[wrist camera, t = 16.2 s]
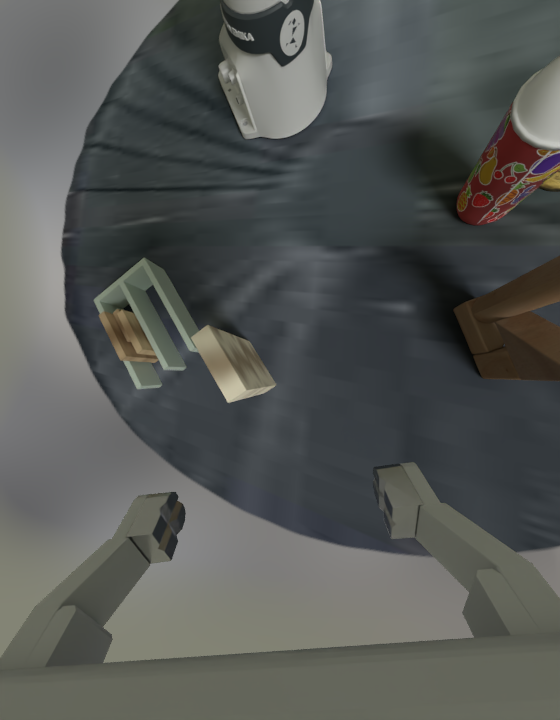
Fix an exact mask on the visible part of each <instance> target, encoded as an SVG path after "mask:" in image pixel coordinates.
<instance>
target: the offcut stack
mask: <svg viewBox="0 0 560 720" xmlns="http://www.w3.org/2000/svg"><path fill="white" fill-rule="evenodd" d="M99 317H100V319H101V322H102V324H103V326H104V328H105V330H106V332H107V334H108V336H109V338H110V340H111V342H112V344H113V346H114V348H115V350H116V352H117V354H118V356H119V358H120V360H121V361H136V362H151V363H155V362H157V361H158V358H157V356H156V354H155V352H154V350H153V348H152V346H151V344H150V342H149V340H148V339H147V337H146V335H145V333H144V331H143V329H142V327H141V325H140V323H139V321H138V319H137V318H136V316H135V314H134V313H132V312H129V311H125V310H120V309H117V310H116V311H114V312H113V314H112V313H108V312H104V311H103V312H102V313H101V314H100V315H99Z"/></svg>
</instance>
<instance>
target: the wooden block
mask: <svg viewBox="0 0 560 720" xmlns="http://www.w3.org/2000/svg"><path fill="white" fill-rule="evenodd" d="M559 301H560V256H558V257H556V258H555V259H553V260H551V261H549V262H547V263H545V264H543V265H541V266H539V267H537V268H536V269H534V270H532V271H530V272H528V273H526V274H524V275H522V276H520V277H519V278H517V279H515V280H513V281H511V282H509V283H507V284H505V285H503V286H502V287H500V288H498V289H496V290H494V291H492V292H490V293H488V294H486V295H483V296H480V297H478V298H475V299H472V300H469V301H466V302H464V303H462V304H461V305H459V306H457V307H455V308H454V313H455V315H456V317H457V320H458V322H459V324H460V327H461V329H462V332H463V334H464V336H465V339H466V341H467V343H468V346H469V348H470V350H471V353H472V354H475V355H474V356H473V358H474V360H475V362H476V365H477V367H478V370H479V372H480V374H481V377H482V378H483V379H513V380H540V381H560V327H559V326H557V325H555V324H553V323H551V322H549V321H548V320H546V319H544V318H542V317H540V316H538V315H536V314H534V313H533V312H530V311H531V310H534V309H537V308H540V307H543V306H546V305H549V304H553V303H556V302H559ZM504 344H505V347H503V345H504Z"/></svg>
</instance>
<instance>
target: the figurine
mask: <svg viewBox="0 0 560 720" xmlns="http://www.w3.org/2000/svg"><path fill="white" fill-rule="evenodd" d="M539 188H541V189H544V190H547V191H557V192H558V191H560V170H559V171H558V172H556V173H555V174H554V175H553V176H552V177H550V178H549V179H548V180H547V181H546V182H544V183H543V184H542V185H541V186H539Z"/></svg>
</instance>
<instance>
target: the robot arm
mask: <svg viewBox="0 0 560 720" xmlns="http://www.w3.org/2000/svg"><path fill="white" fill-rule="evenodd" d="M220 3H221V4H220V7H221V12H222V17H223V20H224V24H223V26H222V29H221V32H220V35H219V43H220V46H221V50H222V52H223V55H224V58H225V60H224V61H223V62H221V63H220V64H219V69H220V71H219V74H218V77H219V80H220V83H221V86H222V88H223V91H224V93H225V95H226V98H227V100H228V102H229V105H230V107H231V110H232V112H233V114H234V117H235V119H236V121H237V124H238V126H239V129H240V131H241V133H242V136H243V137H244V138H245V139H252V138H257V137H266V138H272V139H279V138H285V137H289V136H292V135H294V134H296V133H298V132H300V131H302V130H303V129H305V128H306V127H307V126H308V125H309V124H310V123H311V122H312V121H313V120H314V119H315V118H316V117H317V115H318V114H319V112H320V111H321V109H322V107H323V104H324V102H325V98H326V92H327V78H328V76H329V74H330V71H331V69H332V57H331V55H330V54H329V53H327V52H326V50H325V39H324V28H323V17H322V7H321V2H320V0H220ZM373 475H374V477H375V479H374V481H373V488H374V493H375V497H376V500H377V503H378V506H379V508H381V509H382V510H383V511H384V522H385V524H386V527H387V529H388V532H389V534H390V537H391V539H397V538H411V537H416V539H417V540H418V541H419V542H420V543H421V544H422V545H423V546H424V547H425V548H426V549H427V550H428V551H429V552H430V553H431V554H432V555H433V556H434V557H435V558H436V559H437V560H438V561H439V562H440V563H441V564H442V565H443V566H444V567H445V568H446V569H447V570H448V571H449V572H450V573H451V574H452V575H453V576H454V577H455V578H456V579H457V580H458V581H459V582H460V583H461V584H462V585H463V586H464V587H465V588H466V590H467V591H469V595H468V598H467V600H466V603H465V606H464V609H463V612H462V613H463V615H464V617H465V619H466V621H467V624H468V625H469V628H470V630H471V632H472V634H473V636H474V638H464V639H448V640H434V641H419V642H404V643H390V644H375V645H361V646H347V647H346V646H345V647H331V648H316V649H303V650H302V649H301V650H287V651H272V652H258V653H243V654H228V655H213V656H200V657H184V658H169V659H154V660H140V661H125V662H111V663H103V661H104V659H105V657H106V654H107V652H108V649H109V647H110V644H111V642H112V634H110V633H109V632H108V631H107V630H105V629H104V628H103V626H104V625H105V624H106V622H107V621H108V620H109V618H110V617H111V616H112V614H113V613H114V612H115V611H116V609H117V608H118V607H119V605H120V604H121V603H122V601H123V600H124V599H125V597H126V596H127V595H128V594H129V592H130V591H131V590H132V588H133V587H134V586H135V584H136V583H137V582H138V580H139V579H140V578H141V577H142V575H143V574H144V573H145V571H146V570H147V569H148V567H149V566H150V564H151V563H158V562H165V561H171V560H172V557H173V554H174V551H175V548H176V545H177V542H178V540H177V536H176V535H177V534H178V533H179V532H180V531H181V530H182V527H183V524H184V521H185V508H184V506H183V504H182V503H180V502H179V501H177V500H178V495H177V494H176V492H169V493H158V494H148V495H141V496H138V497H137V498H136V499H135V500H134V501H133V503H132V505H131V507H130V508H129V510H128V512H127V514H126V515H125V517H124V519H123V520H122V522H121V524H120V526H119V527H118V529H117V531H116V533H115V534H114V536H113V538H112V539H110V540H108V541H106V542H105V543H104V544H103V545H102V546H101V547H100V548H99V549H98V550H97V551H95V552H94V553H93V554H92V555H91V556H90V557H89V558H88V559H87V560H86V561H85V562H83V563H82V564H81V565H80V566H79V567H78V568H77V569H76V570H75V571H74V572H72V573H71V574H70V575H69V576H68V577H67V578H66V579H65V580H64V581H63V582H62V583H60V584H59V585H58V586H57V587H56V588H55V589H54V590H53V591H52V592H51V593H50V594H48V596H46V597H45V598H44V599H43V600H42V601H41V602H40V603H39V604H38V605H36V606H35V607H34V609H33V610H32V612H31V613H30V615H29V616H28V618H27V619H26V621H25V622H24V624H23V625H22V627H21V628H20V630H19V631H18V633H17V634H16V636H15V637H14V638H13V640H12V641H11V643H10V644H9V646H8V648H7V649H6V650H5V652H4V653H3V655H2V656H1V658H0V720H560V598H559V597H558V596H557V594H556V593H555V592H554V591H553V589H552V588H551V587H550V586H549V584H548V583H547V582H546V581H545V579H544V578H543V577H542V576H541V574H540V573H539V572H538V570H537V569H536V568H535V567H534V566H533V564H532V563H530V562H529V561H527V560H526V559H525V558H523V557H522V556H520V555H519V554H517V553H516V552H515V551H513V550H512V549H510V548H509V547H507V546H506V545H505V544H503V543H502V542H500V541H499V540H497V539H496V538H495V537H493V536H492V535H490V534H489V533H487V532H486V531H484V530H483V529H482V528H480V527H479V526H477V525H476V524H474V523H473V522H472V521H470V520H469V519H467V518H466V517H464V516H463V515H462V514H460V513H459V512H457V511H456V510H454V509H453V508H452V507H450V506H449V505H447V504H446V503H440V501H439V500H438V498H437V497H436V495H435V493H434V492H433V490H432V489H431V487H430V486H429V484H428V482H427V481H426V479H425V478H424V476H423V474H422V473H421V471H420V470H419V468H418V466H417V465H416V464H415V463H414V462H410V463H403V464H392V465H385V466H378V467H374V468H373Z"/></svg>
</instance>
